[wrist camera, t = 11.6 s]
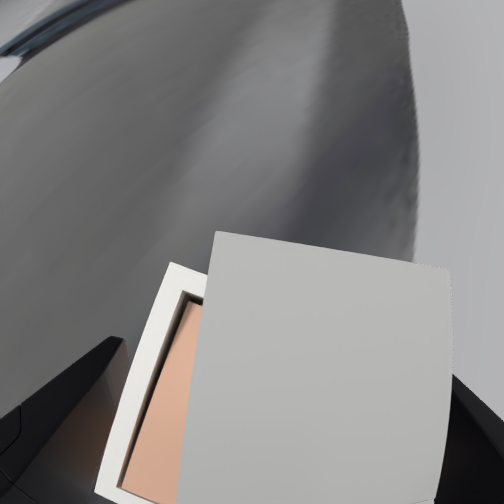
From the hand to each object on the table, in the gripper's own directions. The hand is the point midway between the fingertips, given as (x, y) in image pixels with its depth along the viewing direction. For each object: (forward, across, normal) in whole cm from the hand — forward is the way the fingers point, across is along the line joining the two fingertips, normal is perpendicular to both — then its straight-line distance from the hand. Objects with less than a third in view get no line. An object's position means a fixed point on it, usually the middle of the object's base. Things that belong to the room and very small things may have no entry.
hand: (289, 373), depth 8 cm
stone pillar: (+6, 0, +7) cm, 9 cm away
